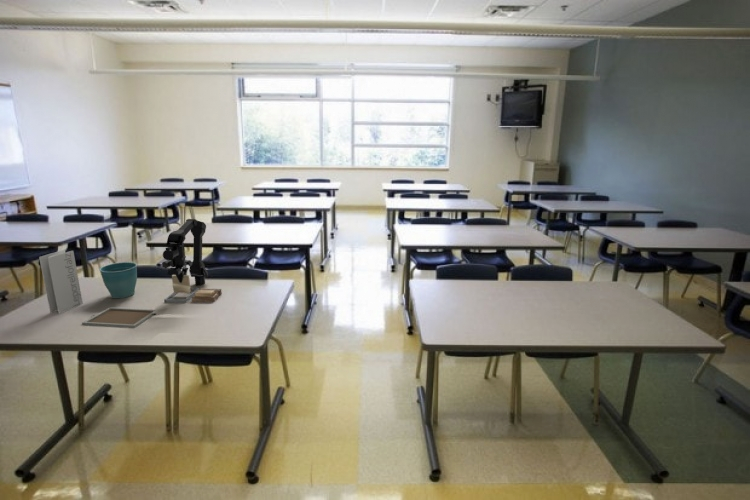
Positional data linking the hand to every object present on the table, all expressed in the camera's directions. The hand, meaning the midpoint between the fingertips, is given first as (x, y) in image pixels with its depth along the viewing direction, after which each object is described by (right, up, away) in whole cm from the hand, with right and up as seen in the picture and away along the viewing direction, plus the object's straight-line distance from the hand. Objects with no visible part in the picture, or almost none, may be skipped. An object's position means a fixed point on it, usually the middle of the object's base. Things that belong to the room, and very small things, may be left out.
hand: (181, 281), depth 238 cm
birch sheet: (0, -6, +2) cm, 6 cm away
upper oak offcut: (+14, -7, -3) cm, 16 cm away
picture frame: (-21, -17, -23) cm, 36 cm away
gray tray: (0, -9, +2) cm, 10 cm away
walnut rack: (+14, -10, +1) cm, 18 cm away
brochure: (-55, -13, -13) cm, 58 cm away
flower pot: (-37, -8, +6) cm, 38 cm away
